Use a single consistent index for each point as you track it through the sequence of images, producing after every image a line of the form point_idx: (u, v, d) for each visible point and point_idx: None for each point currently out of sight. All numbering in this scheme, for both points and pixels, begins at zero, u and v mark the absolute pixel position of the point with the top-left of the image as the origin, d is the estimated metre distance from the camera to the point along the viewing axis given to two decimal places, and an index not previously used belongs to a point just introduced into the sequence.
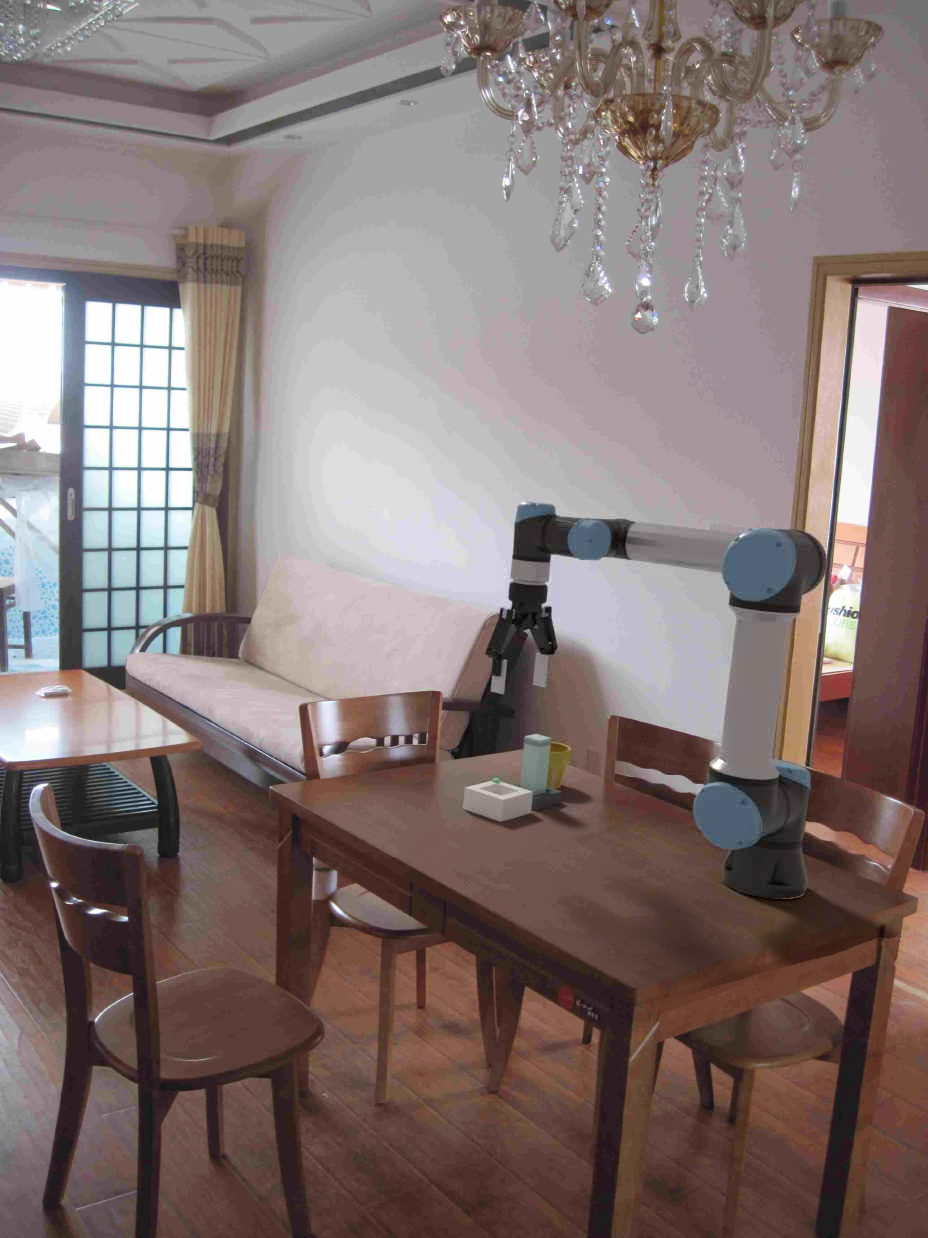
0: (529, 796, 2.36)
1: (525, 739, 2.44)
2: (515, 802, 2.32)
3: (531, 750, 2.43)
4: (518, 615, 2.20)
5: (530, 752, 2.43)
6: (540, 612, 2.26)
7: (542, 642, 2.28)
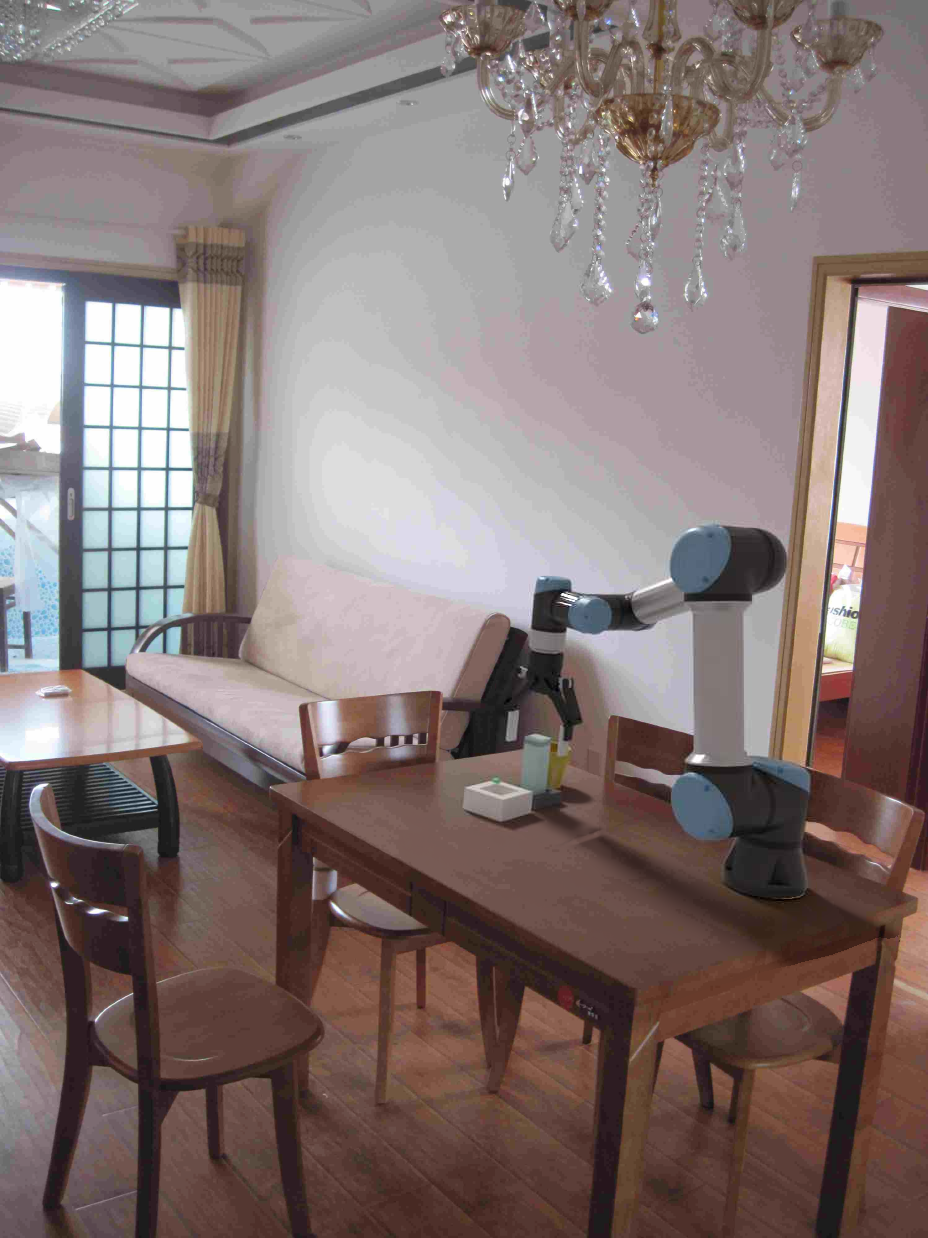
0: (529, 796, 2.36)
1: (525, 739, 2.44)
2: (515, 802, 2.32)
3: (531, 750, 2.43)
4: (526, 675, 2.44)
5: (530, 752, 2.43)
6: (552, 681, 2.39)
7: None
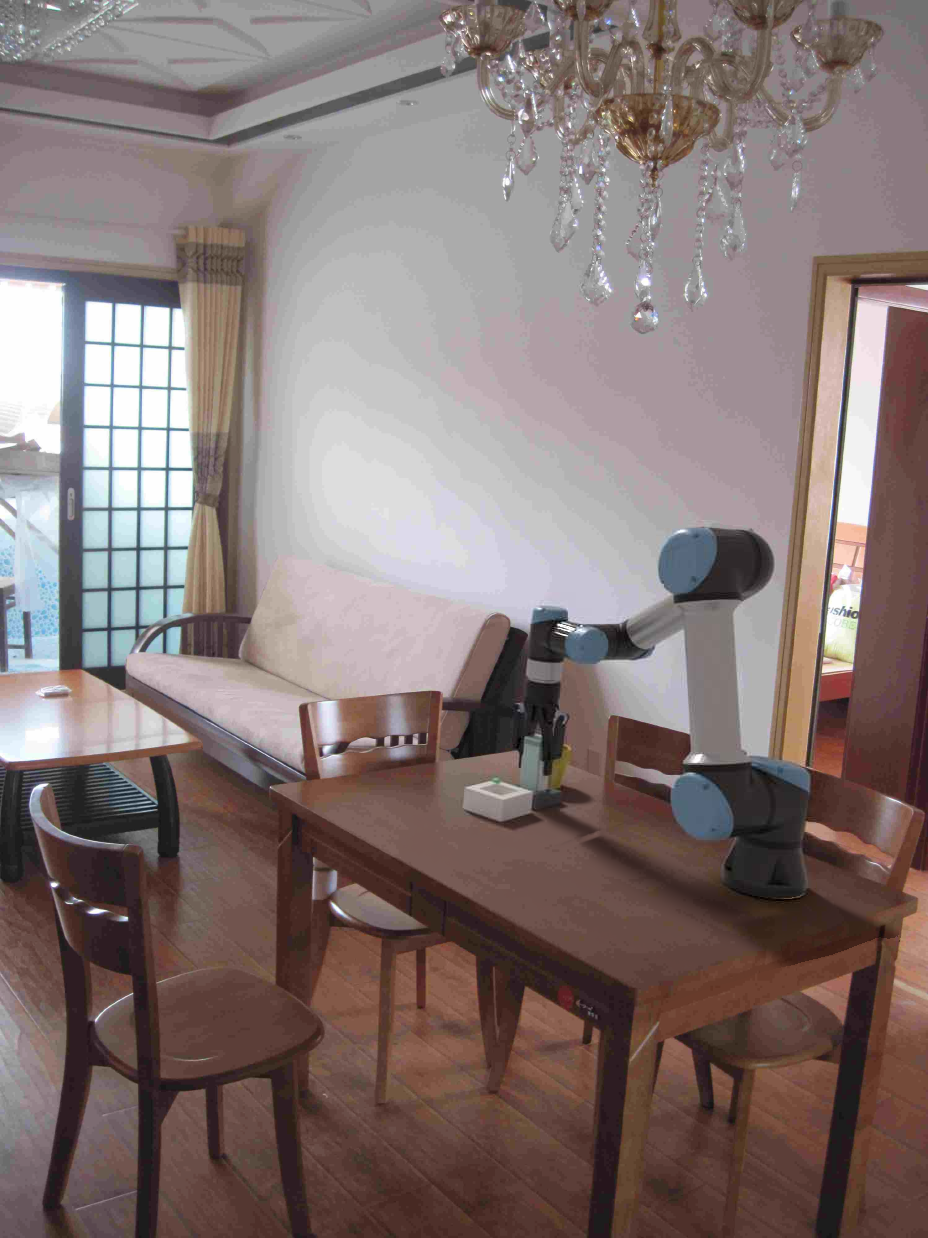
0: (529, 796, 2.36)
1: (525, 739, 2.44)
2: (515, 802, 2.32)
3: (531, 750, 2.43)
4: (524, 706, 2.44)
5: (530, 752, 2.43)
6: (549, 710, 2.40)
7: None
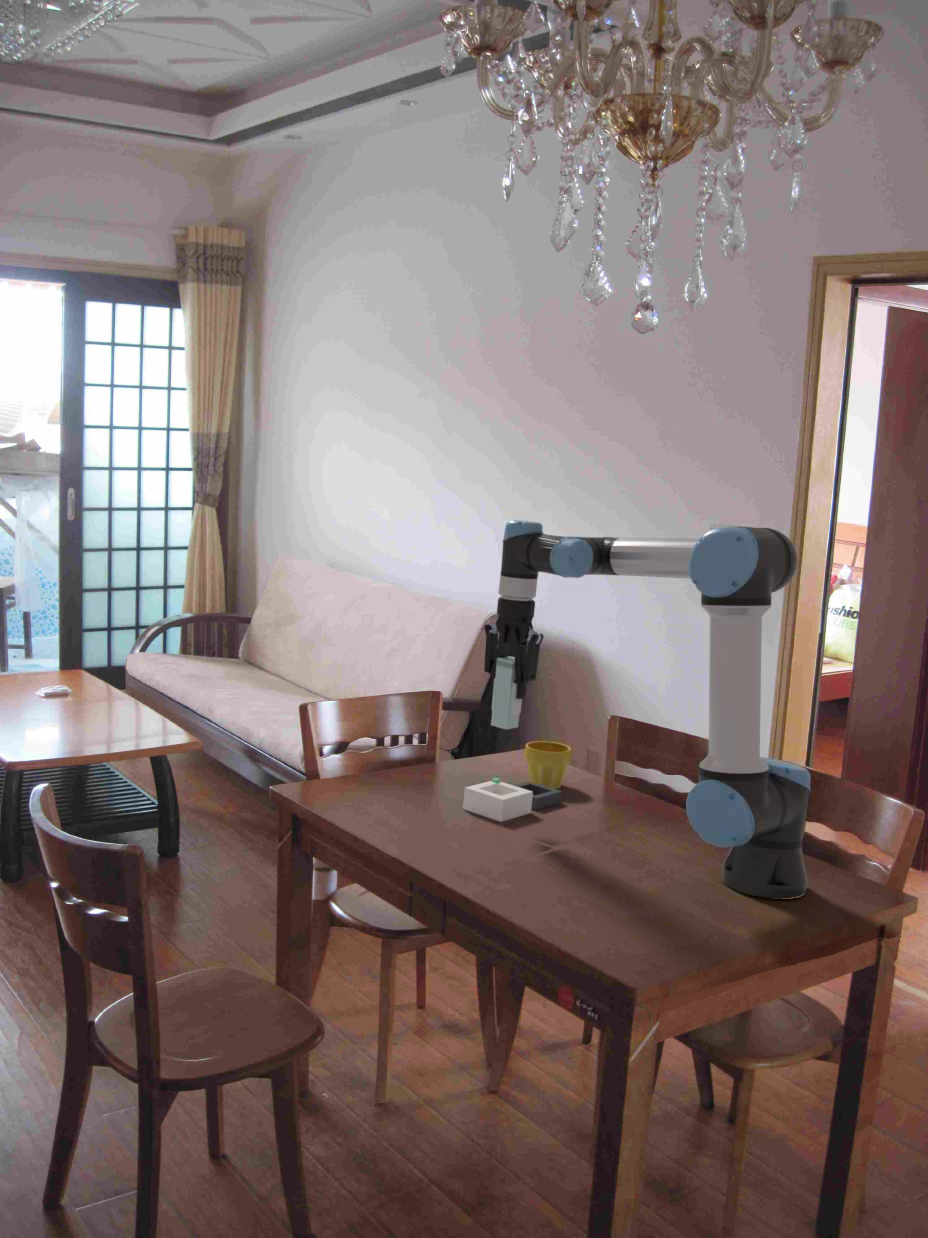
0: (529, 796, 2.36)
1: (497, 660, 2.32)
2: (515, 802, 2.32)
3: (504, 672, 2.31)
4: (497, 627, 2.33)
5: (503, 674, 2.31)
6: (523, 630, 2.29)
7: None
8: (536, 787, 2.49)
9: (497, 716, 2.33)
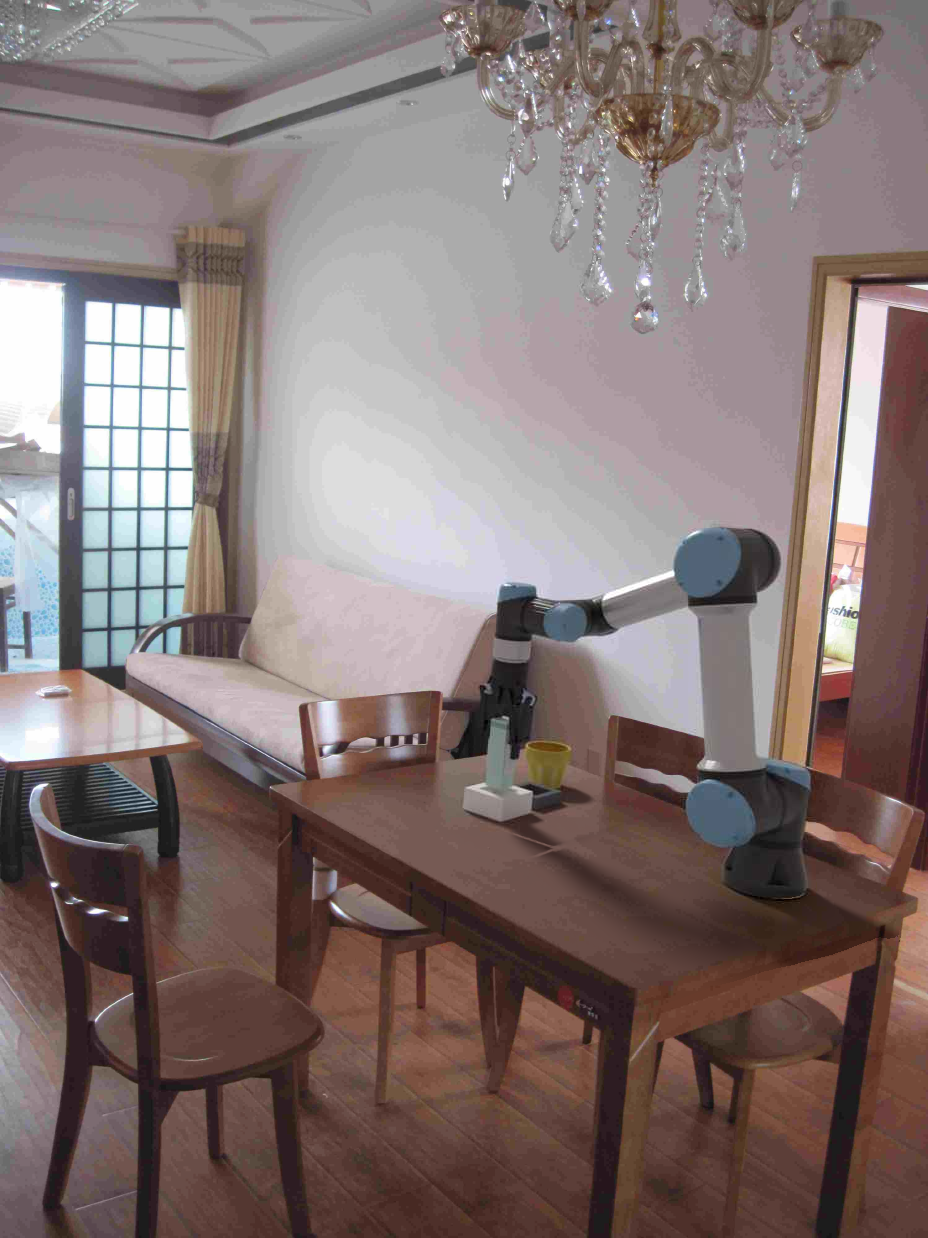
0: (529, 796, 2.36)
1: (491, 721, 2.34)
2: (515, 802, 2.32)
3: (498, 733, 2.33)
4: (491, 687, 2.35)
5: (497, 735, 2.33)
6: (517, 691, 2.30)
7: None
8: (536, 787, 2.49)
9: (492, 776, 2.34)
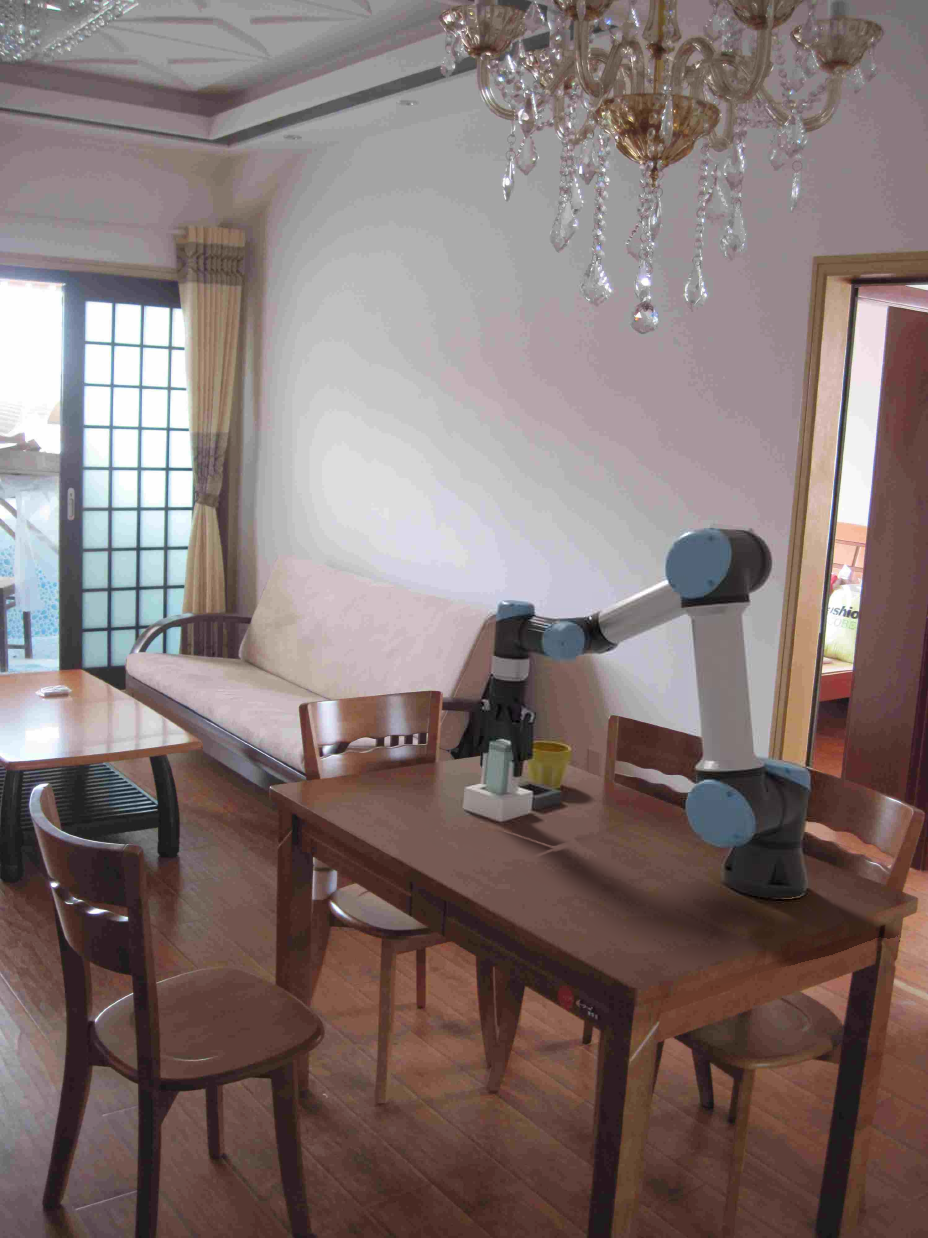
0: (529, 796, 2.36)
1: (490, 744, 2.34)
2: (515, 802, 2.32)
3: (496, 756, 2.33)
4: (490, 705, 2.35)
5: (495, 758, 2.34)
6: (515, 709, 2.31)
7: None
8: (536, 787, 2.49)
9: None
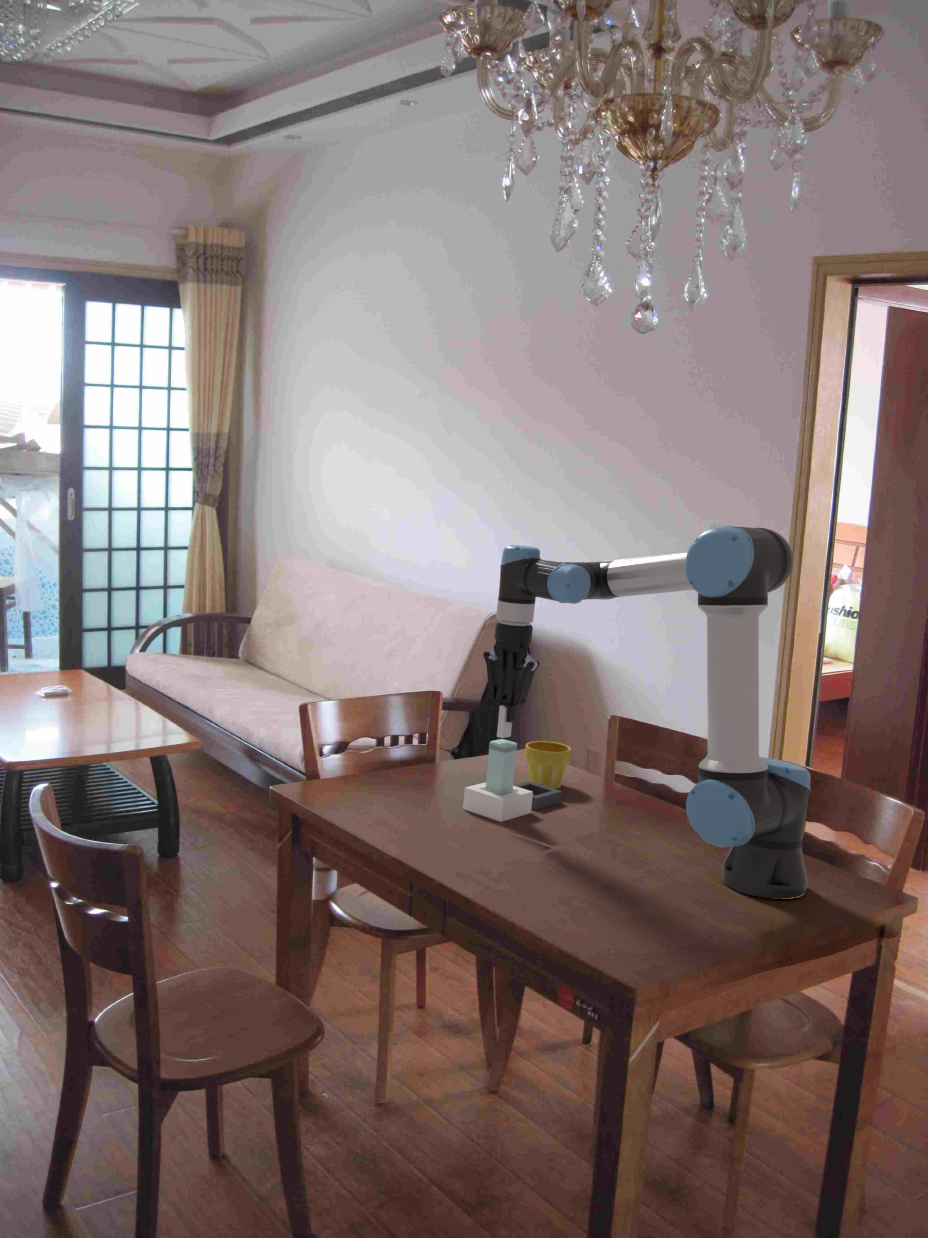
0: (529, 796, 2.36)
1: (490, 744, 2.34)
2: (515, 802, 2.32)
3: (496, 756, 2.33)
4: (495, 652, 2.33)
5: (495, 758, 2.34)
6: (520, 654, 2.29)
7: None
8: (536, 787, 2.49)
9: None
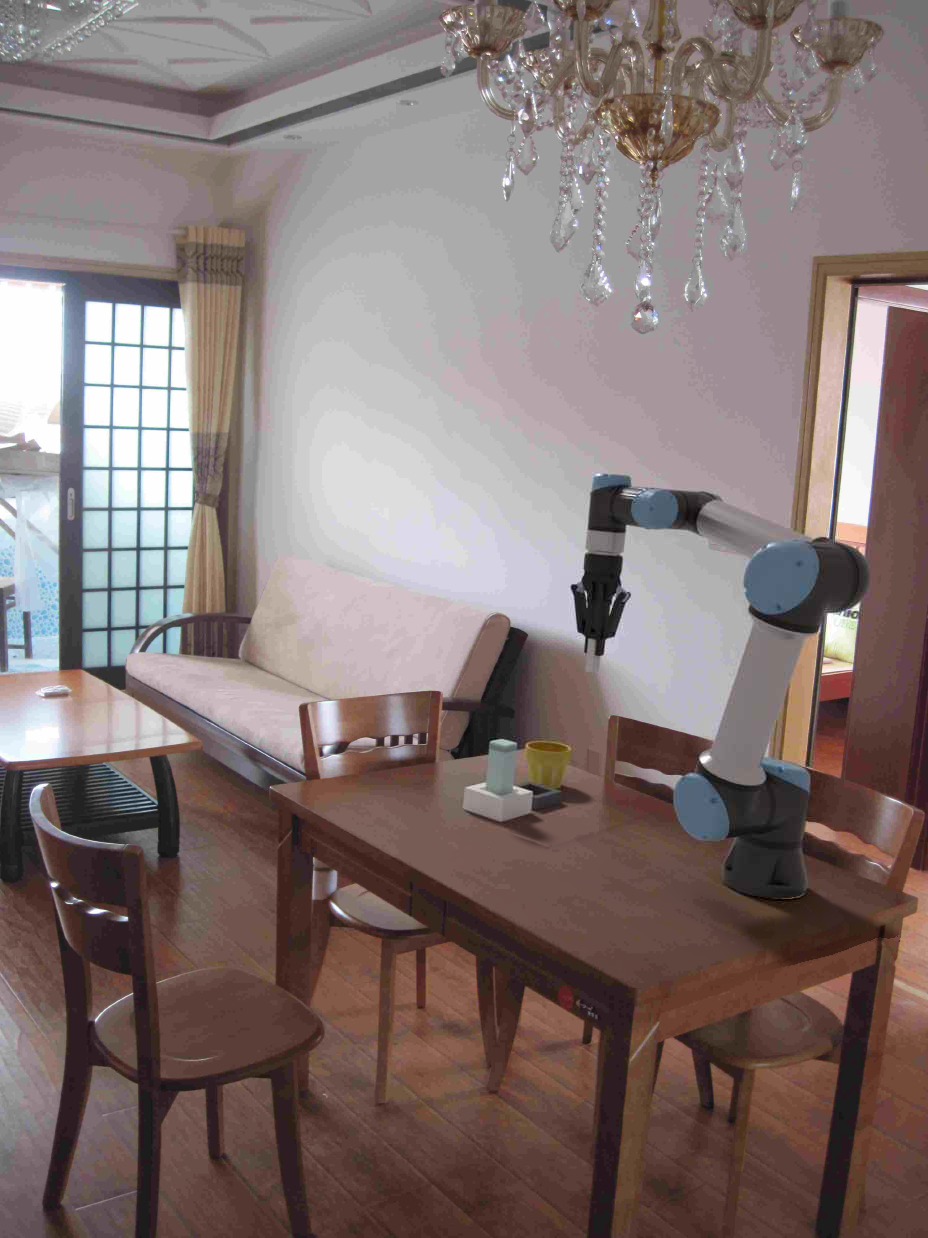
0: (529, 796, 2.36)
1: (490, 744, 2.34)
2: (515, 802, 2.32)
3: (496, 756, 2.33)
4: (584, 583, 2.27)
5: (495, 758, 2.34)
6: (611, 585, 2.23)
7: None
8: (536, 787, 2.49)
9: None
